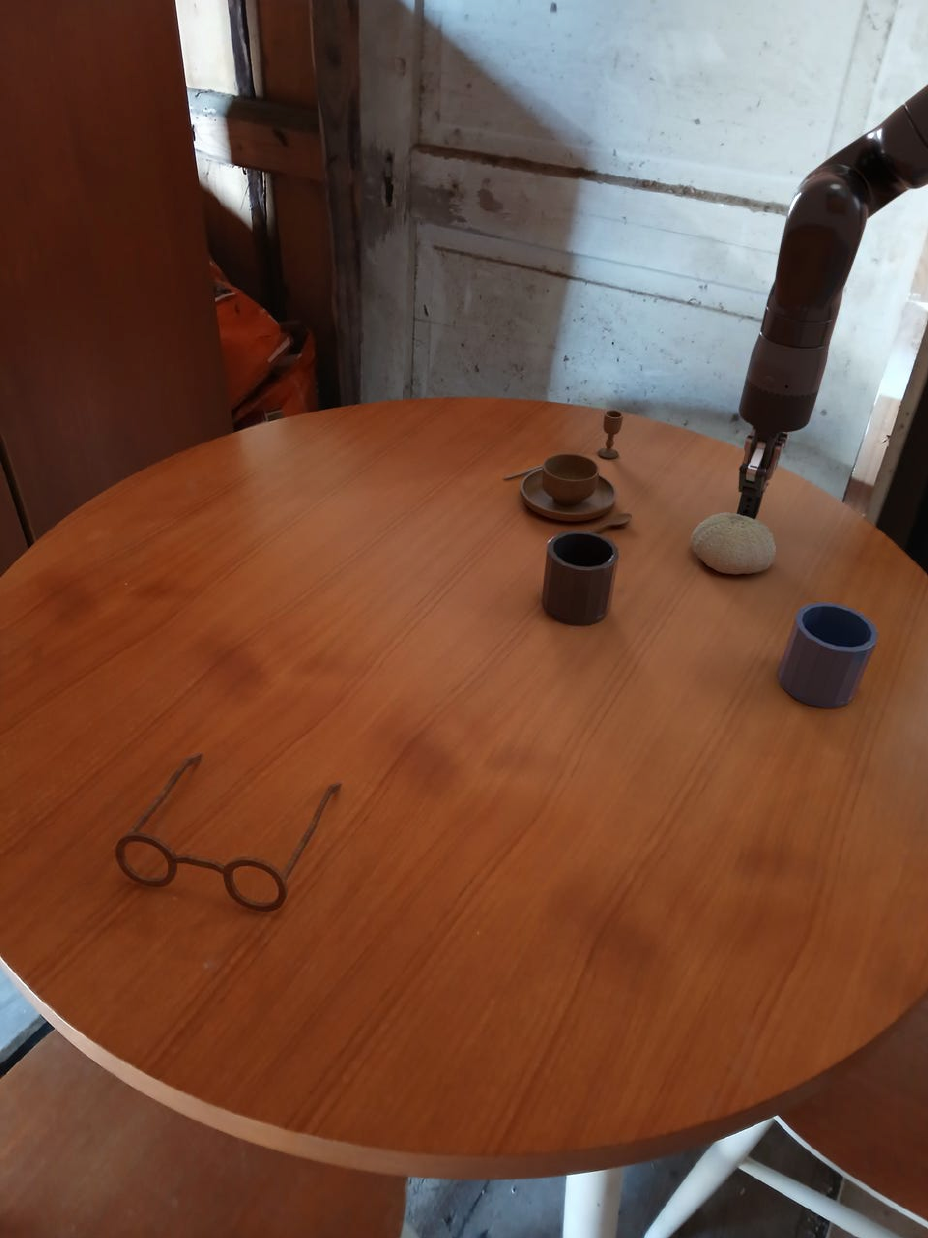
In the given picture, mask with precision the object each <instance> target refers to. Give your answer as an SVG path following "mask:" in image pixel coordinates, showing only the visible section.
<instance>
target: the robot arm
mask: <svg viewBox="0 0 928 1238" xmlns="http://www.w3.org/2000/svg"><path fill="white" fill-rule="evenodd" d="M927 185H928V84H926V85H925V86H924V87H922V88H921V89H920V90H919V91H917V92H916V93H915V94H914V95H912V96H911V97H910V98H909V99H907V100H906V101H904V104H901V105H899V106H898V107H897V108H896V109H895V110H893V111H892V112H891V113H890V114H889V116H887V117H886V118H885V119H883V121H881V123H880V124H878V125H876V126H875V127H874V128H872V129H871V130H869V131H868V132H866V133H864V134H862V135H861V136H860V137H858V138H856V139H855V140H853V141H852V142H851V143H849V144H848V145H846V146H845V147H843V148H842V149H840V150H838V151H837V152H835V153H834V154H833V155H832V156H830V157H829V158H827V159H826V160H825V161H823V162H822V163H821V164H819V165H818V166H817V167H816V168H814V169H813V170H812V171H810V172H809V174H807V175H806V176H805V177H804V178H803V179H802V181H800V183H799V185H798V186H797V187H796V189H795V191H794V193H793V196H792V199H791V201H790V204H789V207H788V210H787V213H786V216H785V222H784V227H783V230H782V231H783V232H782V235H781V242H780V248H779V252H778V257H777V262H776V263H777V265H776V271H775V276H774V280H773V283H772V285H771V288H770V291H769V293H768V296H767V300H766V304H765V307H764V312H763V316H762V320H761V324H760V329H759V332H758V336H757V337H756V341H755V343H754V346H753V349H752V351H751V355H750V359H749V363H748V368H747V372H746V376H745V380H744V385H743V388H742V393H741V397H740V401H739V404H738V413H739V416H740V418H741V419H742V420H743V421H745V422H746V423H748V424H749V425H751V426H752V428H751V432H750V433H748V434H747V435H746V439H745V442H744V447H743V450H744V456H743V460H742V464H741V465H740V466H739V468H738V487H737V489H738V493H741V495H740V498H739V502H738V505H737V510H736V514H740V515H742V516H747V517H750V518H752V519H754V520H756V519H757V517H758V515H759V511H760V509H761V504H762V500H763V496H764V493H766V491H767V487H769V485H770V480H771V479H772V478H773V476H774V475H775V471H776V470H777V468H778V466H779V464H780V460H781V456H782V453H783V450H784V449H785V447H786V446H787V444H788V440H789V437H790V433H794V432H797V431H800V430H802V429H804V428H805V427H807V426H808V425H809V423H810V421H811V418H812V414H813V412H814V408H815V404H816V401H817V397H818V394H819V390H820V387H821V384H822V380H823V377H824V374H825V370H826V367H827V363H828V358H829V350H830V345H831V340H832V337H833V334H834V331H835V327H836V323H837V320H838V317H839V313H840V310H841V306H842V299H843V293H844V288H845V286H846V283H847V281H848V279H849V276H850V273H851V270H852V268H853V266H854V262H855V260H856V256H857V254H858V251H859V249H860V245H861V242H862V239H863V236H864V234H865V230H866V226H867V222H868V220H869V219H870V218H871V217H872V216H874V215H875V214H876V213H877V212H879V211H880V210H882V209H883V208H884V207H886V206H888V205H889V204H891V203H892V202H893V201H895V200H896V199H897V198H898V197H900V196H901V195H904V194H905V193H906V192H908V191H910V190H918V189H921V188H923V187H925V186H927Z"/></svg>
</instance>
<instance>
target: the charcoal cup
mask: <svg viewBox="0 0 928 1238" xmlns="http://www.w3.org/2000/svg"><path fill="white" fill-rule="evenodd" d="M619 558H620V553H619V548H618V547H617V545H616V544H615V543H614V542H613V541H612V540H611V539H610V538H608V537H606V536H605V535H603V534H600V533H597V532H590V531H589V530H580V529H576V530H575V529H574V530H567V531H561V532H560V533H558V534H556V535H553V536H552V537H551V539H550V540H548V542H547V545H546V553H545V561H544V562H545V563H544V571H543V572H544V573H543V582H542V589H541V606H542V608H543V611H544V612H545V613H546V615H548V616H549V617H551V618H552V619H554V620H556V621H558V622H561V623H563V624H567V625H571V626H572V625H573V626H589V625H593V624H596V623H599V622H600V621H602V620H603V619H605V618H606V617H607V616H608V614H609V612H610V608H611V605H612V599H613V594H614V593H613V592H614V587H615V581H616V574H617V571H618V564H619Z"/></svg>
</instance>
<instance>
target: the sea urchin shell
mask: <svg viewBox="0 0 928 1238" xmlns="http://www.w3.org/2000/svg"><path fill="white" fill-rule="evenodd" d="M690 546H691V549H692V551H693V552H694V554H695V555H696V556H697V558H698V559H699V560H701V561H702V562H704V564H706V566H707V567H710V568H712V569H713V570H715V571H716V572H719V573H722V574H726V575H729V574H730V575H741V574H745V575H750V574H755V573H760V572H761V573H762V572H763V571H764V570H767V569H768V568H769V567H770V566H771V565H772V563H773V562H774V558H775V557H776V554H777V546H776V542H775V538H774V534H773V533H772V531H771V530H770V529H769V527H768V526H767V525H766V523H763V522H762V521H760V520H759V519H755V520H754V519H752V518H750V517H747V516H742V515H740V514H737V513H733V512H720V513H714V514H712V515H710V516H708V517H707V518H705V519H704V520H702V521H701V522H700V523H698V525H697V526H696V528H695V529H694V530H693V532H692V533H691V537H690Z"/></svg>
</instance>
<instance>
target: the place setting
mask: <svg viewBox="0 0 928 1238" xmlns="http://www.w3.org/2000/svg"><path fill="white" fill-rule="evenodd" d="M623 421H624V414H623V412H621V411H620V410H616V409H615V410H614V409H609V410H606V411H605V412H604V415H603V425H602V428H603V431H604V433H605V434H607V439H606V441H605V446H606V447H603V448H600V449H599V450H597V455H598V456H599V457H600V458H603V459H607V460H613V459H617V458H618V457H619V456H620V455H619V451H618V450H616V449H614V448H613V446H614V444H615V443H614V437H615V435H618V434H619V433H620V431H621V429H622V424H623ZM524 474H526V475H525V476H524V477H523V478H522V479H521V482H520V485H519V493H520V497H521V499H522V500H523V502H524V504H526V506H527V507H528V508H529V509H530V510H532V511H533V512H535V513H537V514H539V515H540V516H542V517H546V518H548V519H551V520H555V521H561V522H570V523H571V522H572V523H573V522H574V523H576V522H586V521H591V520H594V519H597V518H599V517H601V516H603V515H605V514H606V513H607V514H608V512H609V511H610V510H611V509H612V508H613V507H614V505H615V504H616V500H617V497H618V496H617V495H618V491H617V489H616V486H615V484H614V483H613V482H612V481H611V480H609V479H608V478H607V477H605V476H604V475H602V474H601V473H600V466H599V465H598V463H597V462H596V461H595V460H593V459H591V458H590V457H588V456H584V455H582V454H577V453H557V454H553V455H551V456H549V457H547V458H546V459H544V460H543V462H542V464H540V465H537V466H534V467H531V468H527V469H525V470H521V471H519V472H516V473H513V474H510V475H507V476H505V477H503V480H509V479H512V478H516V477H519V476H522V475H524ZM632 518H633V515H632V513H629V512H627V513H618V514H615V515H613V516H612V517H610V519H609V520H608V521H607V522H606V523H603V524H602V525H599V526H596V527H594V528H591V529H589V530H588V531H590V532H594V533H597V532H598V531H600V530H601V529H604V528H607V527H611V526H612V527H620V526H622V525H625V524H627V523H629V522H630V521H631V519H632Z"/></svg>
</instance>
